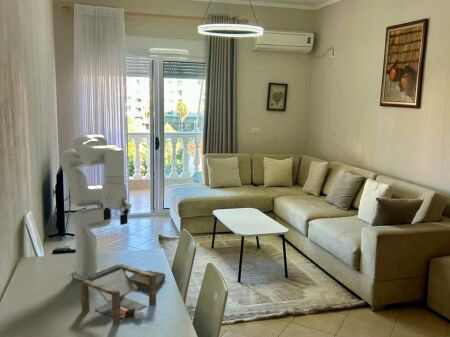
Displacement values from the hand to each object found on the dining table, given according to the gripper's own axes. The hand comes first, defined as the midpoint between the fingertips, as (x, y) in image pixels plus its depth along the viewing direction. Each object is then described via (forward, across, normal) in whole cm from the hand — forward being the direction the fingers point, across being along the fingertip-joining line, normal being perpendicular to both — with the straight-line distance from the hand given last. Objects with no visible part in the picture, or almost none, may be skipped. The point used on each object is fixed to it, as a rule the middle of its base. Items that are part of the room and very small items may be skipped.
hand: (115, 221), depth 170 cm
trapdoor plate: (+25, +2, -3) cm, 25 cm away
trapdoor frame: (+34, +5, -4) cm, 34 cm away
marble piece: (+34, -2, +18) cm, 39 cm away
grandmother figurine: (+32, +8, -8) cm, 34 cm away
